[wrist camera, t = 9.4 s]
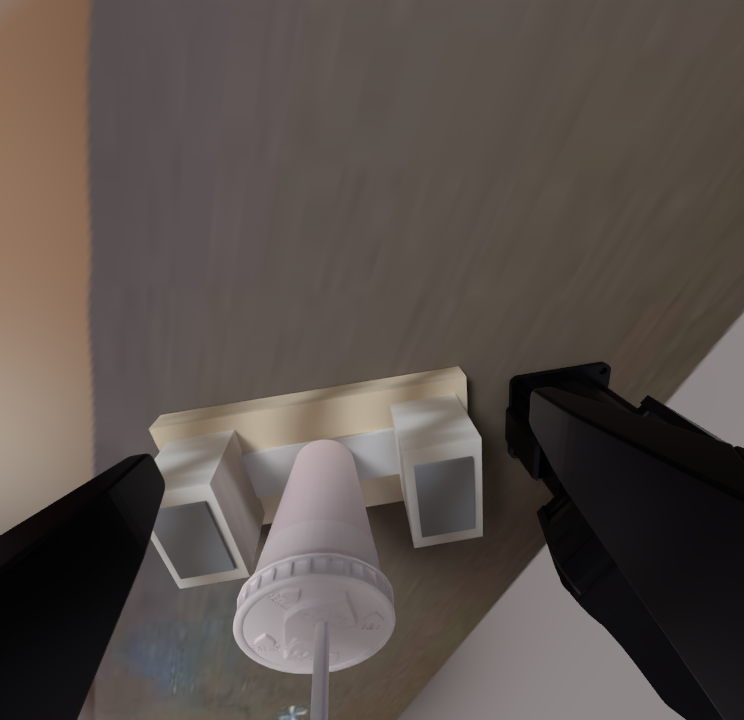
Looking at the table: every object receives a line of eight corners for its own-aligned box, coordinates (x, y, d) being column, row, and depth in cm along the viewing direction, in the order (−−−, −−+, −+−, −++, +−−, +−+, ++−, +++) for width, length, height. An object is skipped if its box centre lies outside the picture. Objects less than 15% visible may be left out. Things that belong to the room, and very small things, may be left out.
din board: (458, 366, 23) (498, 421, 17) (463, 474, 26) (496, 549, 21) (160, 414, 22) (99, 487, 17) (207, 517, 26) (171, 605, 20)
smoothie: (394, 446, 23) (465, 765, 10) (343, 513, 25) (348, 851, 12) (302, 404, 21) (244, 728, 8) (256, 480, 23) (150, 836, 10)
